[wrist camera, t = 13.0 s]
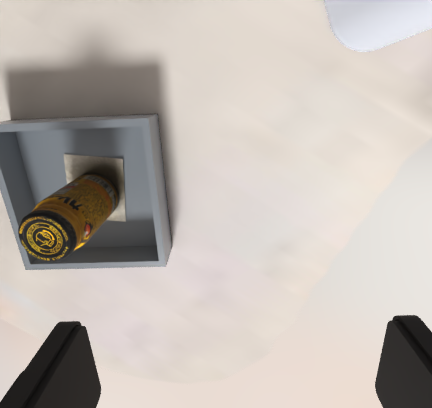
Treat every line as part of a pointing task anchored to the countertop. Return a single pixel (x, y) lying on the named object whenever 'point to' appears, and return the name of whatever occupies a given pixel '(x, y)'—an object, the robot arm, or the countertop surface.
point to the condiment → (75, 208)
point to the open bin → (85, 146)
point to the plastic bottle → (377, 21)
